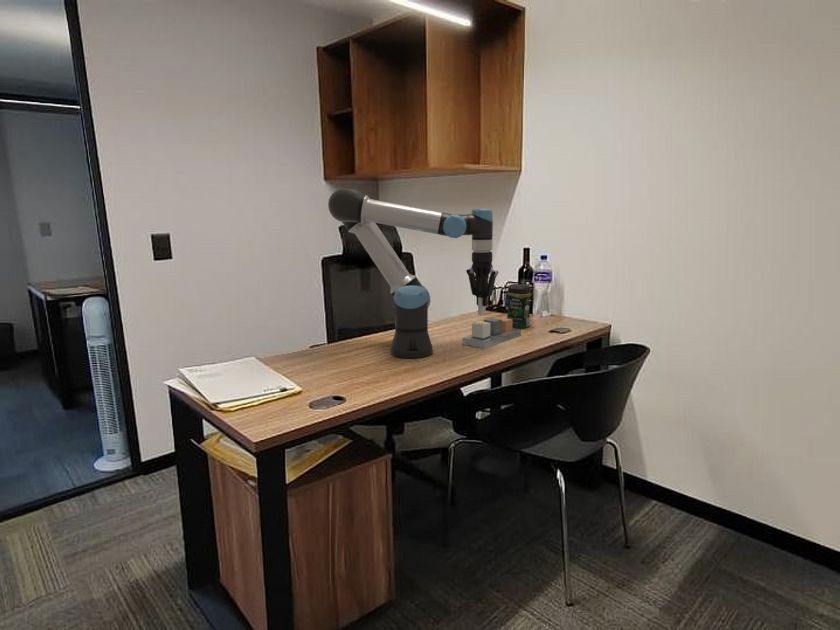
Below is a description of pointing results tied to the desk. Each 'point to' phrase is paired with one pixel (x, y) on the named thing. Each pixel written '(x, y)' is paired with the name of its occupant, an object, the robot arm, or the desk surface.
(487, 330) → the key ivory
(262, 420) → the desk surface
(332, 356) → the desk surface
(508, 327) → the key terracotta
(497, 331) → the block
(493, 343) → the panel
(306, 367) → the desk surface
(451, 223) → the robot arm
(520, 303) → the coffee jar
